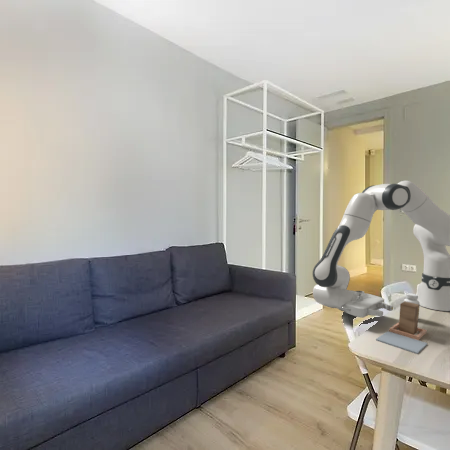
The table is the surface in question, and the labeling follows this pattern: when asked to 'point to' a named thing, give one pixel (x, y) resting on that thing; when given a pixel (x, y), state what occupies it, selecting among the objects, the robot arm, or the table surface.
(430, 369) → the table surface
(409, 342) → the rubber mat
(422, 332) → the terracotta frame
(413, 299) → the supplement bottle
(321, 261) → the robot arm
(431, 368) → the table surface
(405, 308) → the walnut block
